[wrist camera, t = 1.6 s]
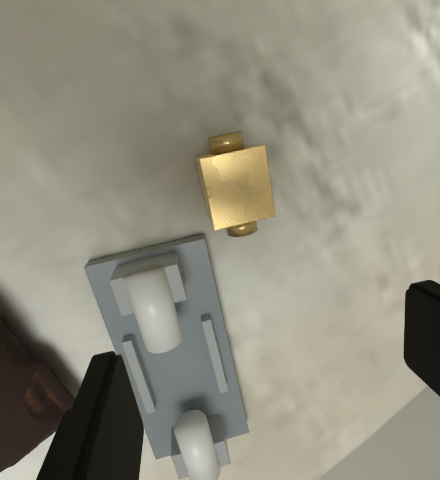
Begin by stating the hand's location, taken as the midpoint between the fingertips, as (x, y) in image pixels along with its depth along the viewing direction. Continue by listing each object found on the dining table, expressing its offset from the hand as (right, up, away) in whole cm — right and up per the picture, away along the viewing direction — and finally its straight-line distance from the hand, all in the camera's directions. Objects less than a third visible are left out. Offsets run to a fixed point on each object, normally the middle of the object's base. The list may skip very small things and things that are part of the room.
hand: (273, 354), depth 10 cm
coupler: (-1, +9, +16) cm, 18 cm away
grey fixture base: (-6, -7, +20) cm, 22 cm away
